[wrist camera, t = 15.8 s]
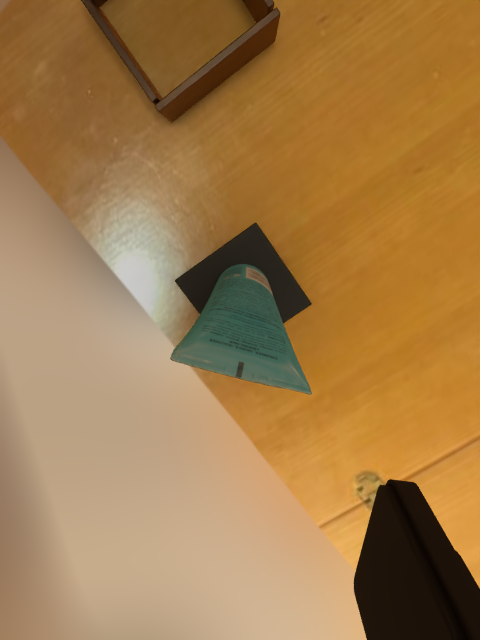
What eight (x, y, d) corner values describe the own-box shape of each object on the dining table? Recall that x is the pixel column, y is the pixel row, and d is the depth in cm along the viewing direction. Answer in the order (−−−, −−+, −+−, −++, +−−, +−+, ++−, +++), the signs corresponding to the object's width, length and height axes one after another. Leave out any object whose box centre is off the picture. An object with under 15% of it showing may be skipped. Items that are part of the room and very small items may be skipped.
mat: (232, 355, 44) (232, 356, 43) (175, 279, 42) (174, 280, 41) (311, 303, 42) (311, 304, 42) (256, 222, 40) (256, 222, 40)
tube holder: (171, 122, 38) (158, 111, 32) (90, 5, 36) (60, -29, 30) (275, 40, 36) (280, 13, 30) (196, -89, 34) (186, -145, 28)
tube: (199, 308, 42) (163, 403, 24) (207, 257, 41) (176, 315, 22) (278, 322, 42) (304, 426, 24) (289, 271, 41) (324, 340, 23)
